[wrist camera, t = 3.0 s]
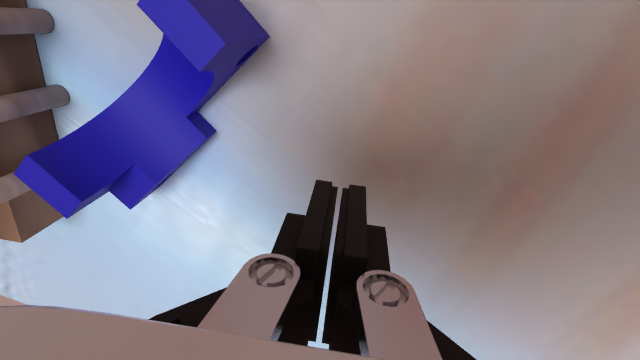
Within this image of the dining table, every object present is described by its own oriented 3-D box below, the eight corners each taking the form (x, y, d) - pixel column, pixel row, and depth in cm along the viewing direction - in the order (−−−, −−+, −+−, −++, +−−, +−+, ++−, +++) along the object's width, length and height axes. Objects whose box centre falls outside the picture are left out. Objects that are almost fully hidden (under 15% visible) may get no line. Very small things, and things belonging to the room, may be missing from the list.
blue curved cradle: (159, 186, 22) (92, 239, 17) (103, 135, 21) (13, 173, 16) (290, 59, 18) (255, 76, 13) (228, -14, 17) (160, -30, 12)
